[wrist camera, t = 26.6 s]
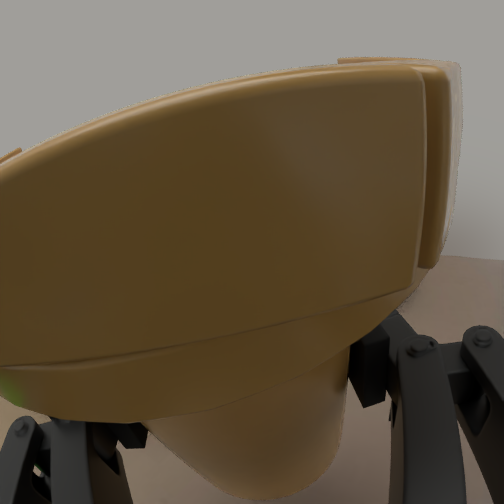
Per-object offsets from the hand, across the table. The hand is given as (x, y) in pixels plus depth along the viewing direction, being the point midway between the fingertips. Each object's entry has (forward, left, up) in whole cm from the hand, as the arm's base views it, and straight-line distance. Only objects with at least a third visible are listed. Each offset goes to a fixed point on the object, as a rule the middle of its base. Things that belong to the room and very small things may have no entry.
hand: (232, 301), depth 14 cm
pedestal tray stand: (-2, +2, -5) cm, 6 cm away
